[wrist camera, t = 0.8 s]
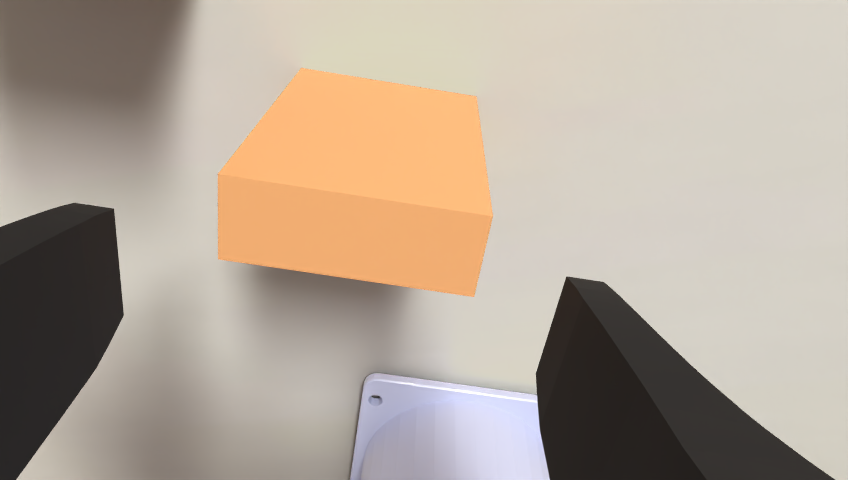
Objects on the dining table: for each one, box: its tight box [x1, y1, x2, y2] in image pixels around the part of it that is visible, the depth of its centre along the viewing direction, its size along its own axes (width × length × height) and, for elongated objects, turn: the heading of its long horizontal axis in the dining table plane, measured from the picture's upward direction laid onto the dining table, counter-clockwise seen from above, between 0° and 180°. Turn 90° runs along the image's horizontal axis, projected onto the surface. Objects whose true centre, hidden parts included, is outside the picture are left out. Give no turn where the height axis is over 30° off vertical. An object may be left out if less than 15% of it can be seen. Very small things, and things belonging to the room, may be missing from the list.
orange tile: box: [218, 68, 493, 297], centre depth 15 cm, size 2×5×8 cm, turn 81°
